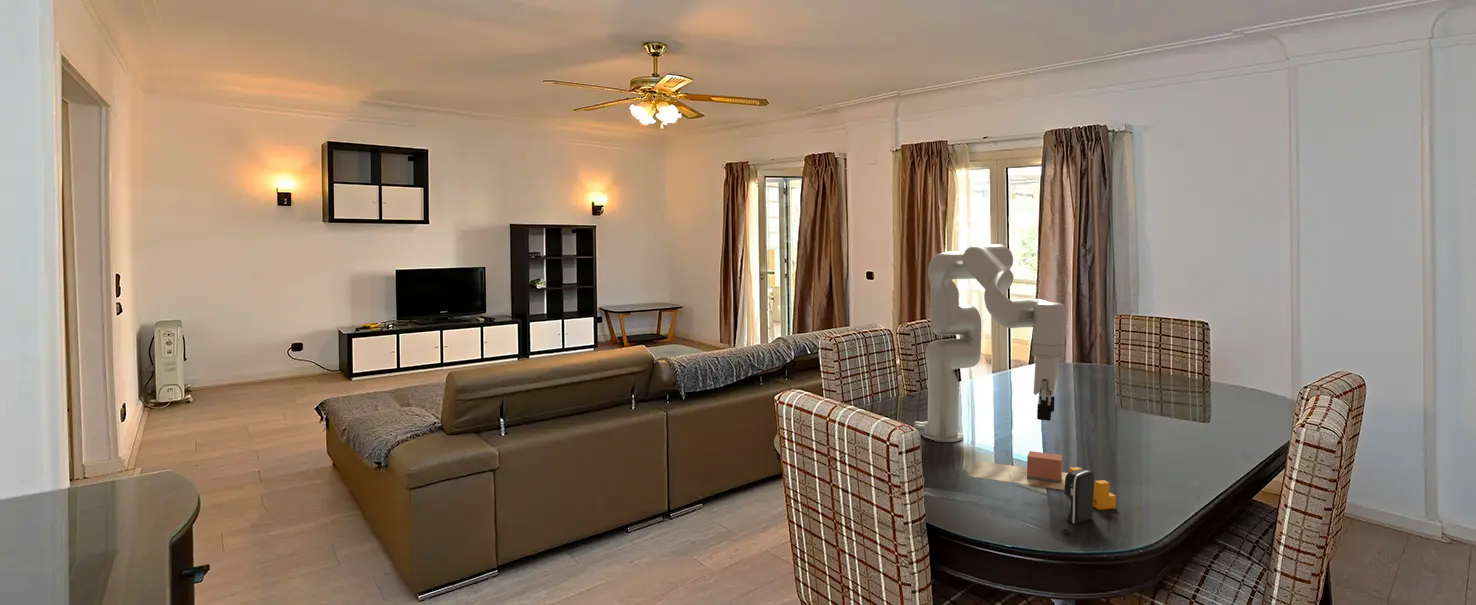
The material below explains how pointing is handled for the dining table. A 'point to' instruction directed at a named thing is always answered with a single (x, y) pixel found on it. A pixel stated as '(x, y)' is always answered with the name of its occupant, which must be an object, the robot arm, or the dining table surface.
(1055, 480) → the block
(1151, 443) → the dining table surface
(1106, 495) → the pipe clamp
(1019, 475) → the board
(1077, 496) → the battery charger
